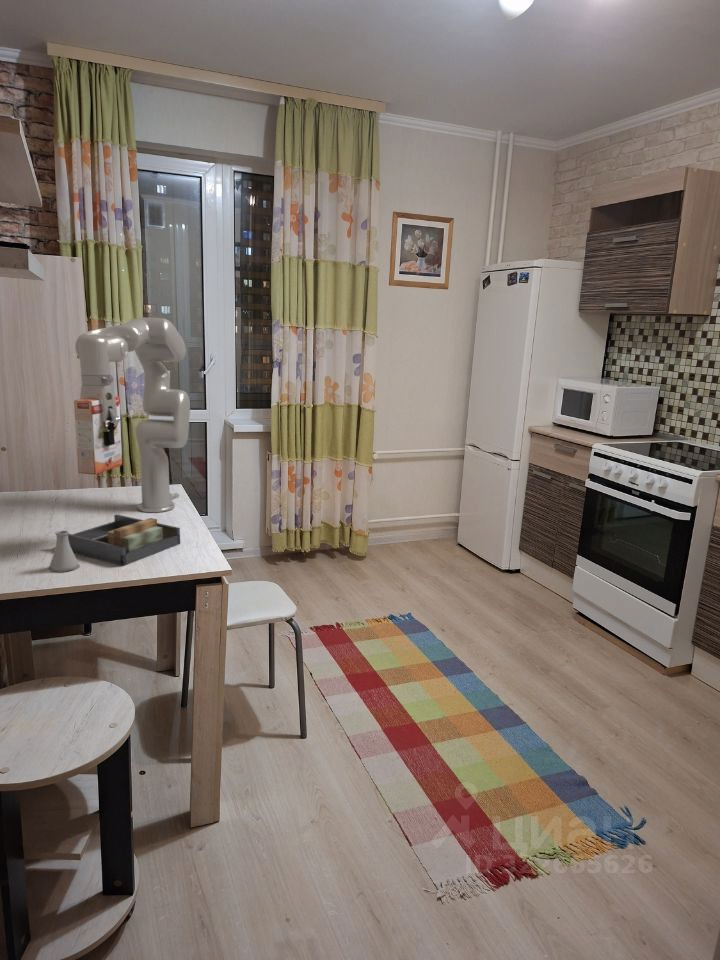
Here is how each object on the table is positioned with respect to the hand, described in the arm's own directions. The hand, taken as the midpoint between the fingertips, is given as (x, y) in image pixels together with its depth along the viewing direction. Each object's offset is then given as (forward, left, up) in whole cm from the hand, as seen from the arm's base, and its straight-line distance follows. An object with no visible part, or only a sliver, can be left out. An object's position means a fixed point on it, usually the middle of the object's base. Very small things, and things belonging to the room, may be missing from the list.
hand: (100, 443), depth 188 cm
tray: (0, +6, -30) cm, 31 cm away
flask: (+20, +7, -30) cm, 37 cm away
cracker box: (0, 0, -8) cm, 8 cm away
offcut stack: (0, +13, -30) cm, 33 cm away
